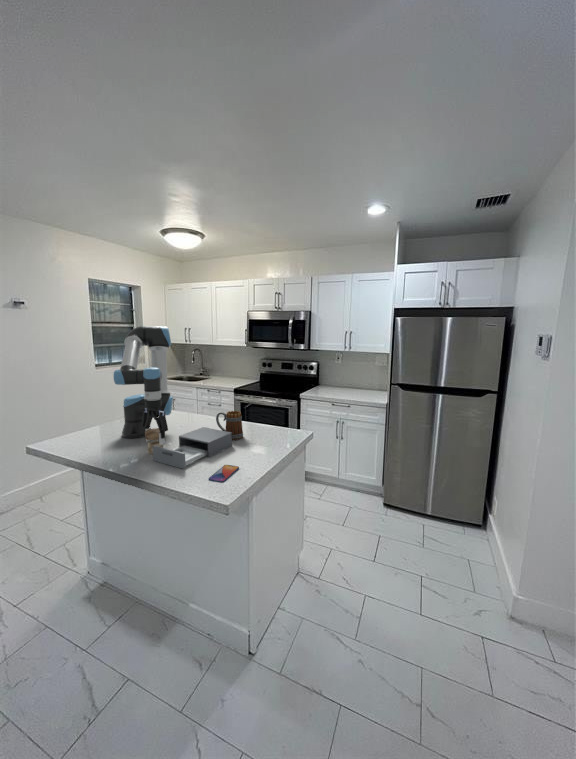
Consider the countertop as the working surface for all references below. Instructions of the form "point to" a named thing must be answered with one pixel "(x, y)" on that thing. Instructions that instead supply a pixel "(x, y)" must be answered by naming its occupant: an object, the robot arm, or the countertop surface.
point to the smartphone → (224, 473)
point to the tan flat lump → (152, 434)
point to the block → (151, 444)
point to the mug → (232, 424)
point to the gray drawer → (177, 455)
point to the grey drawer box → (207, 440)
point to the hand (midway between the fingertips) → (155, 442)
